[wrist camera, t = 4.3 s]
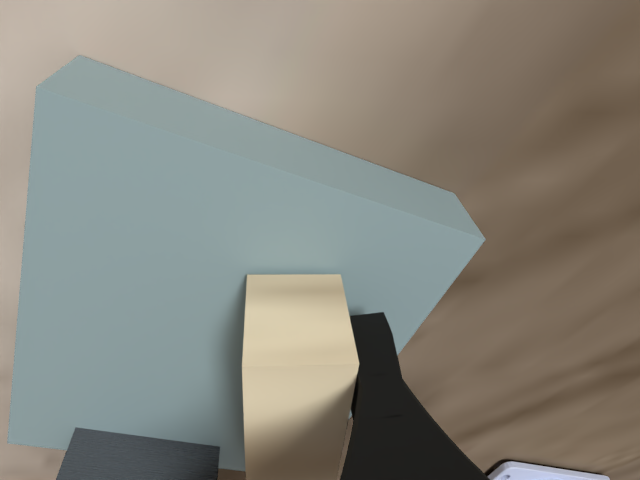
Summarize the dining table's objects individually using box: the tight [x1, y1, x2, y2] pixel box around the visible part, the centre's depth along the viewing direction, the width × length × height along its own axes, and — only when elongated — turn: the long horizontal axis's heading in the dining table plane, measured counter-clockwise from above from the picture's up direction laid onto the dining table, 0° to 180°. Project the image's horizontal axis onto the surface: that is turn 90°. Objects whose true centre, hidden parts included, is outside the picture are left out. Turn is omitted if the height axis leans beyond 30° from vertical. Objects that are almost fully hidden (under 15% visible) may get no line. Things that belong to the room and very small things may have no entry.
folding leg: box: [242, 274, 359, 480], centre depth 13 cm, size 9×2×3 cm, turn 176°
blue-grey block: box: [7, 55, 485, 480], centre depth 14 cm, size 13×11×6 cm
